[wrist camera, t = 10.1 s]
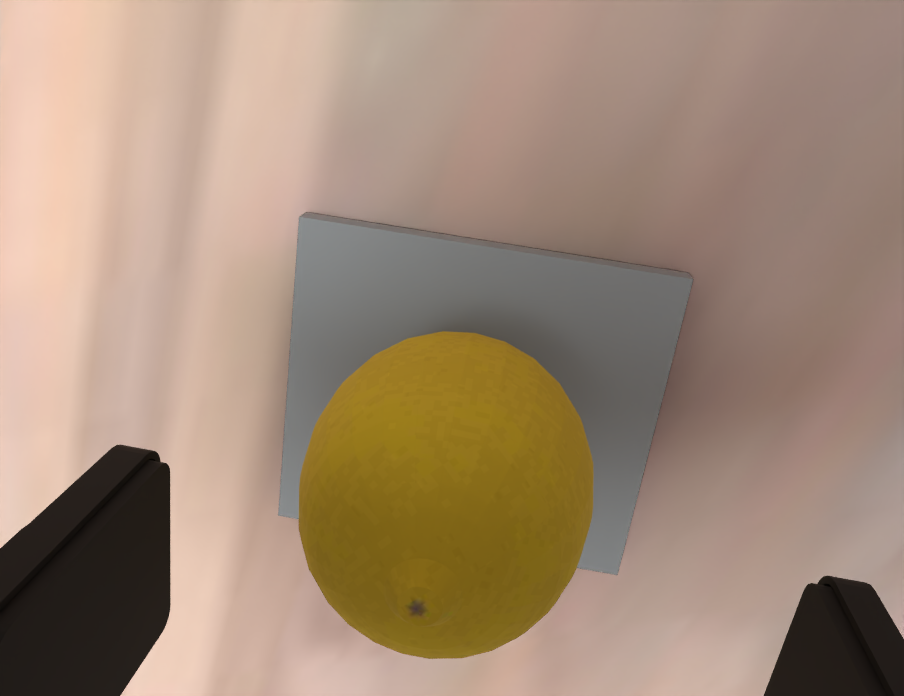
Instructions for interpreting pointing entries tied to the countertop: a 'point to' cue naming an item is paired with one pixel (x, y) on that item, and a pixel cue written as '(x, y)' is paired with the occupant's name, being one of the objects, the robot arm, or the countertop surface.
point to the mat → (497, 316)
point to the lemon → (446, 495)
